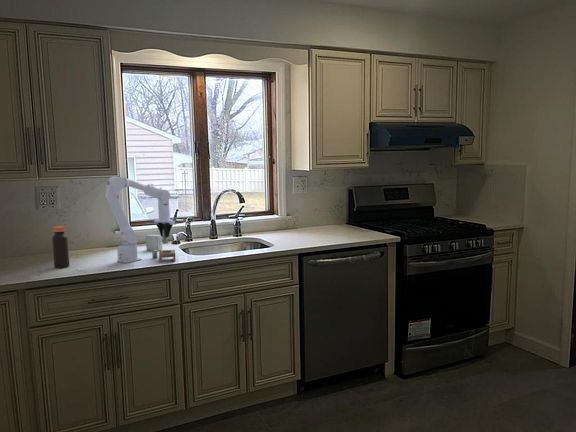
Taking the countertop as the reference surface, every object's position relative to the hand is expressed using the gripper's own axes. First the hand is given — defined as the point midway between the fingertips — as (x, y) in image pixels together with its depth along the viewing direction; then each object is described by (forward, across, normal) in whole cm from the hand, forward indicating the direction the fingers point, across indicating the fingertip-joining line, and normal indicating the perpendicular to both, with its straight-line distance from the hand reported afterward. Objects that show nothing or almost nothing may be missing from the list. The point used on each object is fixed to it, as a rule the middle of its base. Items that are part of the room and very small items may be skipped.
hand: (165, 236), depth 255 cm
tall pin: (+3, 0, 0) cm, 3 cm away
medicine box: (+11, +18, -7) cm, 22 cm away
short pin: (+10, 0, +7) cm, 13 cm away
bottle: (+11, +22, +46) cm, 52 cm away
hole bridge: (+10, -10, +7) cm, 16 cm away
